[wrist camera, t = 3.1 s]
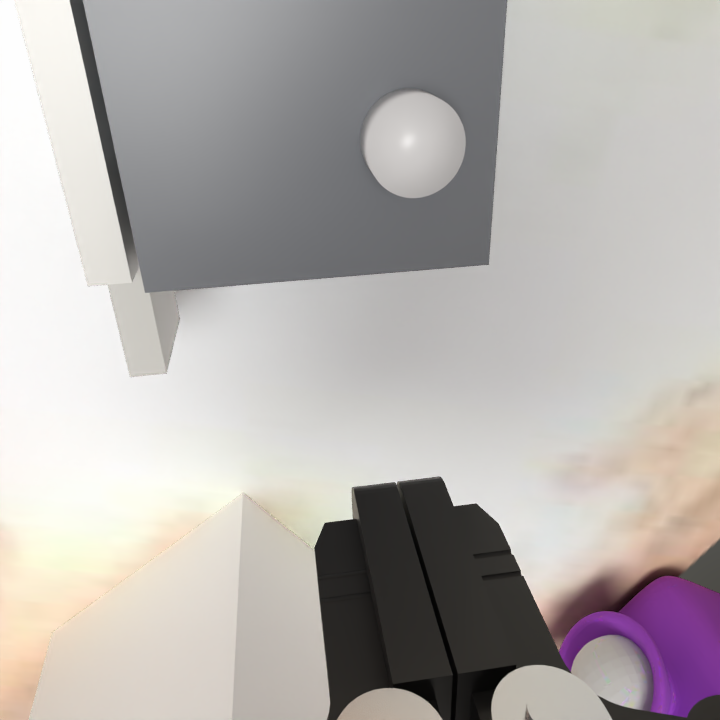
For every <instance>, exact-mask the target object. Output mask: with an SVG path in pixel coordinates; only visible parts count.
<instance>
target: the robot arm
mask: <svg viewBox="0 0 720 720" xmlns="http://www.w3.org/2000/svg"><path fill="white" fill-rule="evenodd" d="M352 509H353V519H352V520H344V521H336V522H329V523H325V524H324V526H323V528H322V531H321V533H320V536H319V538H318V541H317V543H316V545H315V548H314V549H315V560H316V570H317V581H318V591H319V601H320V612H321V621H322V631H323V640H324V650H325V659H326V668H327V678H328V687H329V697H330V708H329V714H328V717H327V720H720V695H713V696H709V697H706V698H704V699H702V700H700V701H699V702H697V703H696V704H695V705H694V706H693V707H692V709H691V710H690V711H689V713H688V716H687V718H686V717H680V716H674V715H668V714H662V713H656V712H650V711H644V710H638V709H633V708H628V707H624V706H621V705H618V704H615V703H612V702H610V701H608V700H606V699H604V698H602V697H600V696H598V695H597V694H596V693H595V692H594V691H593V690H592V689H591V688H590V687H589V686H588V685H587V684H586V683H585V682H583V681H582V680H581V679H579V678H578V677H576V676H575V675H573V674H572V673H571V671H570V670H569V669H568V667H567V666H566V665H565V663H564V661H563V659H562V657H561V655H560V653H559V651H558V649H557V647H556V645H555V643H554V640H553V638H552V636H551V634H550V632H549V630H548V628H547V626H546V623H545V621H544V619H543V617H542V615H541V613H540V611H539V609H538V606H537V604H536V602H535V600H534V598H533V596H532V594H531V592H530V589H529V587H528V585H527V583H526V581H525V579H524V577H523V576H521V570H520V568H519V566H518V564H517V562H516V560H515V558H514V555H512V554H511V549H510V547H509V545H508V543H507V541H506V538H505V536H504V534H503V532H502V530H501V528H500V526H499V524H498V523H497V522H496V521H495V520H494V519H493V518H492V517H490V516H489V515H488V514H487V513H486V512H485V511H484V510H483V509H482V508H480V507H479V506H478V505H477V504H469V505H462V506H453V503H452V501H451V498H450V496H449V493H448V491H447V488H446V486H445V483H444V481H443V479H442V478H441V477H432V478H424V479H416V480H407V481H399V482H397V485H396V483H395V482H392V483H384V484H376V485H368V486H359V487H352Z"/></svg>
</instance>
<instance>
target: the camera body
mask: <svg viewBox="0 0 720 720" xmlns="http://www.w3.org/2000/svg"><path fill="white" fill-rule="evenodd" d="M83 4H84V8H85V13H86V18H87V22H88V27H89V32H90V37H91V41H92V46H93V51H94V55H95V60H96V65H97V69H98V74H99V79H100V84H101V88H102V93H103V98H104V102H105V107H106V112H107V117H108V121H109V126H110V131H111V135H112V140H113V145H114V149H115V154H116V159H117V164H118V168H119V173H120V178H121V182H122V187H123V192H124V197H125V201H126V206H127V211H128V215H129V220H130V225H131V229H132V234H133V239H134V244H135V248H136V253H137V258H138V262H139V267H140V272H141V277H142V281H143V286H144V291H145V293H151V292H163V291H175V290H187V289H200V288H212V287H224V286H236V285H248V284H260V283H272V282H284V281H296V280H309V279H321V278H333V277H345V276H357V275H369V274H381V273H393V272H406V271H418V270H430V269H442V268H454V267H466V266H478V265H489V253H490V238H491V224H492V210H493V195H494V181H495V167H496V152H497V138H498V124H499V109H500V95H501V81H502V66H503V52H504V38H505V23H506V9H507V0H83Z"/></svg>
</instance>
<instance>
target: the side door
mask: <svg viewBox="0 0 720 720" xmlns="http://www.w3.org/2000/svg"><path fill="white" fill-rule="evenodd" d="M14 2H15V6H16V10H17V14H18V18H19V22H20V25H21V29H22V33H23V37H24V41H25V45H26V49H27V53H28V56H29V60H30V64H31V68H32V72H33V76H34V80H35V83H36V87H37V91H38V95H39V99H40V103H41V107H42V111H43V114H44V118H45V122H46V126H47V130H48V134H49V138H50V142H51V145H52V149H53V153H54V157H55V161H56V165H57V169H58V173H59V176H60V180H61V184H62V188H63V192H64V196H65V200H66V203H67V207H68V211H69V215H70V219H71V223H72V227H73V231H74V234H75V238H76V242H77V246H78V250H79V254H80V258H81V262H82V265H83V269H84V273H85V277H86V281H87V285H88V286H98V285H108V288H109V292H110V296H111V300H112V305H113V309H114V313H115V317H116V321H117V325H118V329H119V334H120V338H121V342H122V346H123V350H124V354H125V358H126V363H127V367H128V371H129V375H130V377H135V376H146V375H156V374H166V373H167V369H168V365H169V361H170V357H171V353H172V349H173V345H174V341H175V337H176V333H177V328H178V324H179V320H180V317H179V312H178V307H177V301H176V296H175V291H163V292H151V293H145V291H144V286H143V281H142V277H141V272H140V267H139V262H138V258H137V253H136V248H135V244H134V239H133V234H132V229H131V225H130V220H129V215H128V211H127V206H126V201H125V197H124V192H123V187H122V182H121V178H120V173H119V168H118V164H117V159H116V154H115V149H114V145H113V140H112V135H111V131H110V126H109V121H108V117H107V112H106V107H105V102H104V98H103V93H102V88H101V84H100V79H99V74H98V69H97V65H96V60H95V55H94V51H93V46H92V41H91V37H90V32H89V27H88V22H87V18H86V13H85V8H84V4H83V0H14Z"/></svg>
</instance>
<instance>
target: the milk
mask: <svg viewBox="0 0 720 720" xmlns="http://www.w3.org/2000/svg"><path fill="white" fill-rule="evenodd" d="M329 708H330V697H329V687H328V678H327V668H326V659H325V650H324V640H323V631H322V621H321V612H320V601H319V591H318V581H317V570H316V560H315V550H314V549H312V548H311V547H310V546H309V545H307V544H306V543H305V542H304V541H303V540H301V539H300V538H299V537H298V536H296V535H295V534H294V533H293V532H291V531H290V530H289V529H288V528H286V527H285V526H284V525H283V524H281V523H280V522H279V521H278V520H276V519H275V518H274V517H273V516H272V515H270V514H269V513H268V512H267V511H265V510H264V509H263V508H262V507H260V506H259V505H258V504H257V503H255V502H254V501H253V500H252V499H250V498H249V497H248V496H247V495H245V494H244V493H242V494H240V495H239V496H238V497H236V498H235V499H234V500H232V501H231V502H229V503H228V504H227V505H225V506H224V507H223V508H221V509H220V510H219V511H217V512H216V513H214V514H213V515H212V516H210V517H209V518H208V519H206V520H205V521H203V522H202V523H201V524H199V525H198V526H197V527H195V528H194V529H193V530H191V531H190V532H188V533H187V534H186V535H184V536H183V537H182V538H180V539H179V540H177V541H176V542H175V543H173V544H172V545H171V546H169V547H168V548H167V549H165V550H164V551H162V552H161V553H160V554H158V555H157V556H156V557H154V558H153V559H151V560H150V561H149V562H147V563H146V564H145V565H143V566H142V567H141V568H139V569H138V570H136V571H135V572H134V573H132V574H131V575H130V576H128V577H127V578H125V579H124V580H123V581H121V582H120V583H119V584H117V585H116V586H115V587H113V588H112V589H110V590H109V591H108V592H106V593H105V594H104V595H102V596H101V597H99V598H98V599H97V600H95V601H94V602H93V603H91V604H90V605H89V606H87V607H86V608H84V609H83V610H82V611H80V612H79V613H78V614H76V615H75V616H73V617H72V618H71V619H69V620H68V621H67V622H65V623H64V624H63V625H61V626H60V627H58V628H57V629H56V630H54V631H53V632H52V635H51V639H50V642H49V646H48V650H47V654H46V657H45V661H44V665H43V668H42V672H41V676H40V680H39V683H38V687H37V691H36V695H35V698H34V702H33V706H32V709H31V713H30V717H29V720H327V717H328V714H329Z"/></svg>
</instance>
